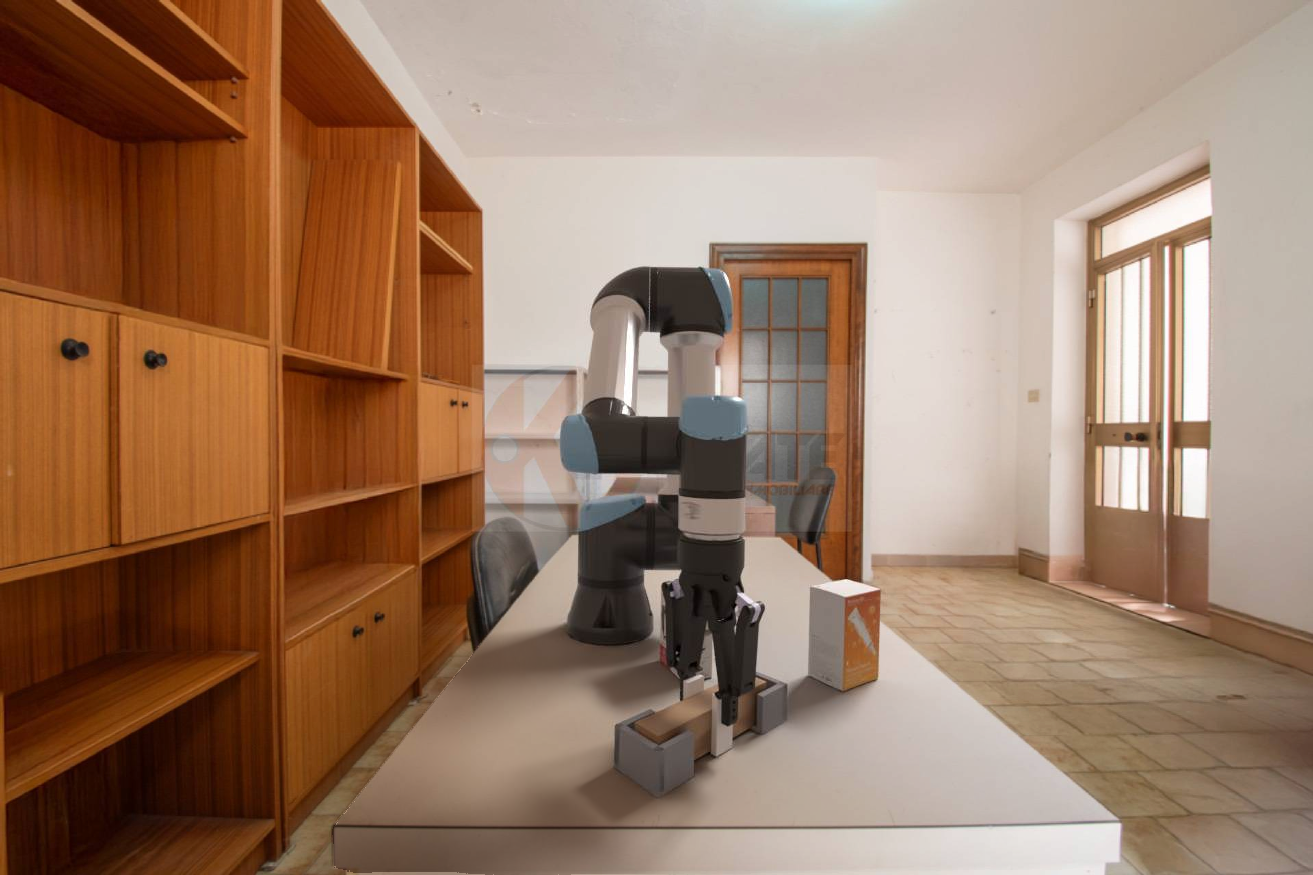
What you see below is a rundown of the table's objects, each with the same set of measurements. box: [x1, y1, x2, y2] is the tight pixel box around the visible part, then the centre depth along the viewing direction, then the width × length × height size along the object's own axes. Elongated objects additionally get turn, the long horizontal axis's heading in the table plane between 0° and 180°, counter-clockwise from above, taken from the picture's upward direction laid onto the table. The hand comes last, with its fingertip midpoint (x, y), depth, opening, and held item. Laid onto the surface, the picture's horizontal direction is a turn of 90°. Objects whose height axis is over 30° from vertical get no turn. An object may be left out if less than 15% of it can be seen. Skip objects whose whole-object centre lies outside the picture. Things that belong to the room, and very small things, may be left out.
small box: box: [807, 578, 882, 692], centre depth 80 cm, size 8×6×13 cm
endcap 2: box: [749, 671, 788, 736], centre depth 69 cm, size 7×5×4 cm
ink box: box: [659, 584, 714, 680], centre depth 82 cm, size 9×5×12 cm, turn 23°
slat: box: [635, 678, 766, 761], centre depth 62 cm, size 18×4×4 cm, turn 133°
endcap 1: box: [613, 708, 695, 799], centre depth 57 cm, size 7×5×4 cm
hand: (707, 742), depth 63 cm, fingers open, 4 cm apart
